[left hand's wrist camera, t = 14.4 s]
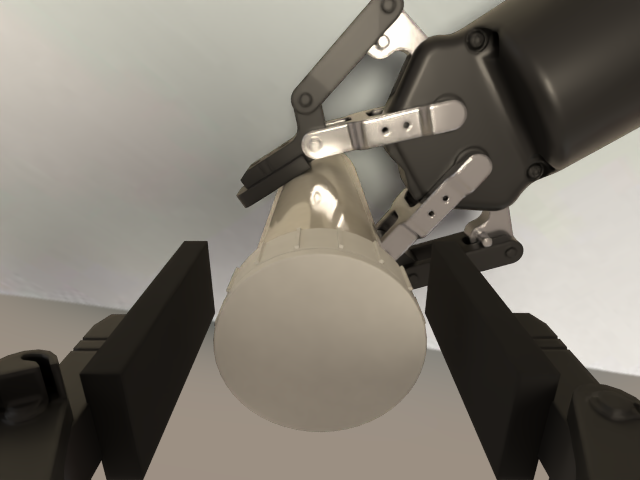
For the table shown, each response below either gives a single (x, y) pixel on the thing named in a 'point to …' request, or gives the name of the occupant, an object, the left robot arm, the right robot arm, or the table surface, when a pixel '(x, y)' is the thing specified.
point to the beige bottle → (322, 202)
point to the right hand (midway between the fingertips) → (275, 240)
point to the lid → (320, 331)
